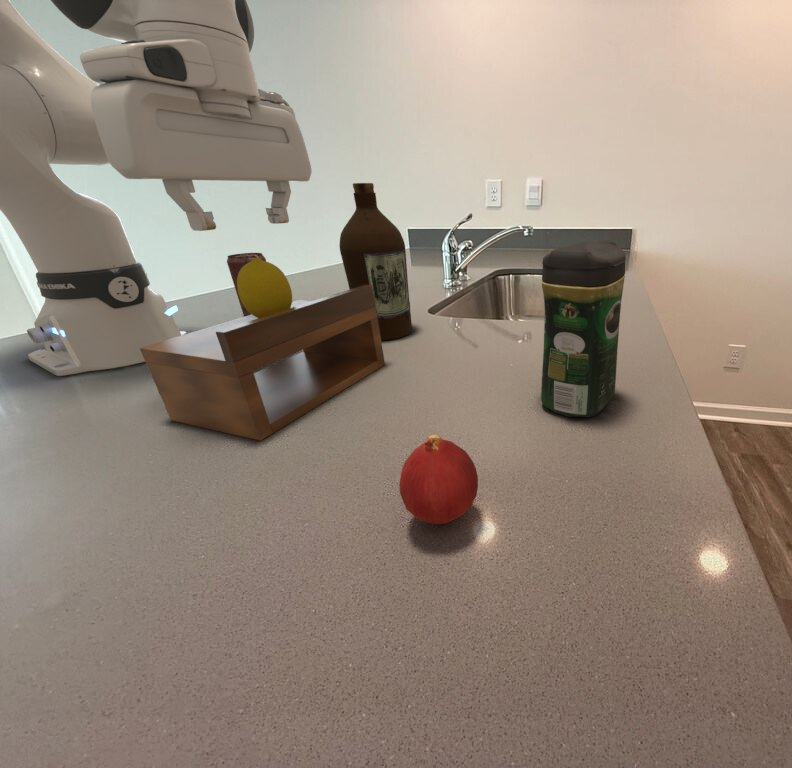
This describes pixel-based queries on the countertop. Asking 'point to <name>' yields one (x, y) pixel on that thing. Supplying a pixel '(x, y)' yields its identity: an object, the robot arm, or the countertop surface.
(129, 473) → the countertop surface
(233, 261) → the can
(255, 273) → the lemon
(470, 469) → the onion
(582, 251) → the coffee jar
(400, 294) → the olive oil
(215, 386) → the shelf
